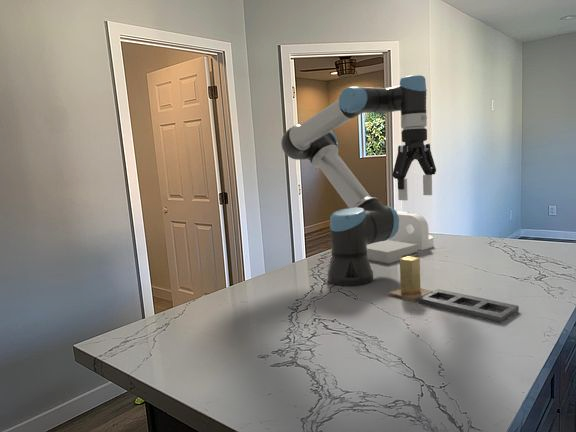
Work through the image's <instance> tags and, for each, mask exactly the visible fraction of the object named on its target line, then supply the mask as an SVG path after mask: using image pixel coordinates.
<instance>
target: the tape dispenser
mask: <svg viewBox="0 0 576 432" xmlns="http://www.w3.org/2000/svg"><path fill="white" fill-rule="evenodd" d="M395 211H396V210H395ZM396 212H397V214H398V217H399V229H398V231H397V233H396V235H395V236H394V237H392V238H390V239H387V240H392V241H399V242H405V243H411V244H417V251H418V250H420V251H424V250H427V249H430V248H433V247H434V244H435V243H434V237H433V236H432V235H431V234H429V224H428V222H427V220H426V218H424V216H422V215H421V214H418V213H413V212H412V213H411V212H410V211H403V210H397V211H396Z"/></svg>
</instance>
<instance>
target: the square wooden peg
mask: <svg viewBox="0 0 576 432" xmlns="http://www.w3.org/2000/svg"><path fill="white" fill-rule="evenodd" d="M399 274H400V275H399V276H400V279H399V281H400V288H401V292H402V293H406V294H411V295H414V294H416V293H418V292H420V291H421V290H420V288H421V258H420V257H415V256H412V257H410V256H407V257H404V258H401V259H400V260H399Z"/></svg>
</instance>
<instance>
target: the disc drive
mask: <svg viewBox="0 0 576 432" xmlns="http://www.w3.org/2000/svg"><path fill="white" fill-rule="evenodd" d="M417 255H418V249H417V244H411V243H405V242H399V241H392V240H386V241H380V242H376V243H372V244H368V245H367V257H368V260H369V261H375V262H379V263H385V264H390V263H394V262H397V261H400V259H401V258H404V257H407V256H410V257H415V256H417Z"/></svg>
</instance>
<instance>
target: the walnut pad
mask: <svg viewBox="0 0 576 432" xmlns="http://www.w3.org/2000/svg"><path fill="white" fill-rule="evenodd" d="M420 290H421V291H420V292H418V293H416V294H414V295H411V294H406V293H402V292H401V287H400V288H395V289H394V290H392V291H389V292H388V297H389V296H390V297H395V298H398V299H403V300H406V301H411V302H415V303H416V302H419V298H421V297H423V296H425V295H427V294H429V293H431V292H434V291H433V290H431V289H427V288H421V287H420Z"/></svg>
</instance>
